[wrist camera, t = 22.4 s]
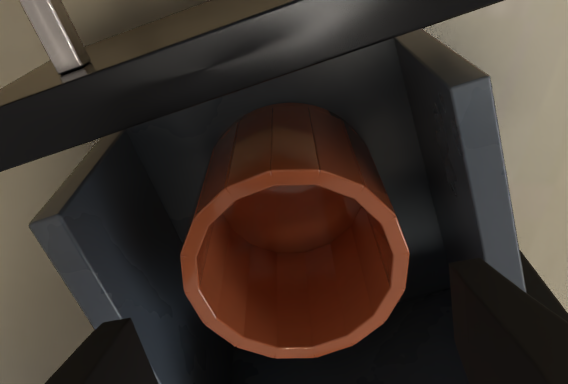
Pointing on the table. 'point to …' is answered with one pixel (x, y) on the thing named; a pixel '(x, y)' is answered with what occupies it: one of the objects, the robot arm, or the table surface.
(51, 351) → the table surface
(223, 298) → the cup
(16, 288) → the table surface
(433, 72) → the drawer
